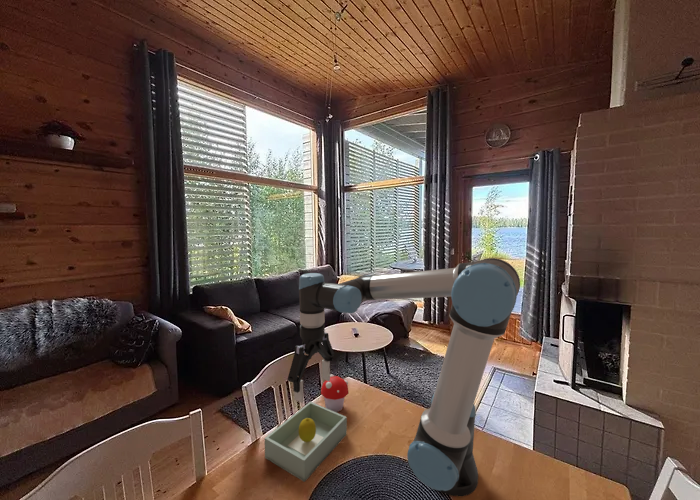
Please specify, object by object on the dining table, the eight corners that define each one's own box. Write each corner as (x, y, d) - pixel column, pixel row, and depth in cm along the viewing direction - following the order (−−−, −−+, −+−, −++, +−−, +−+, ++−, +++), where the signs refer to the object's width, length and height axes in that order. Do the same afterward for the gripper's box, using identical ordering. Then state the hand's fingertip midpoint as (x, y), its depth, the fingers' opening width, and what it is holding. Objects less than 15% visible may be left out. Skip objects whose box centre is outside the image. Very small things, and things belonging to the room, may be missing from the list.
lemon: (313, 449, 94) (313, 425, 94) (296, 446, 95) (295, 423, 94) (318, 436, 100) (318, 414, 99) (302, 434, 101) (301, 411, 100)
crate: (346, 434, 102) (346, 416, 102) (304, 482, 84) (304, 460, 84) (310, 418, 111) (310, 401, 110) (264, 457, 92) (264, 438, 92)
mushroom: (337, 395, 125) (337, 367, 123) (354, 408, 116) (355, 378, 115) (315, 405, 118) (315, 376, 117) (332, 420, 110) (332, 388, 108)
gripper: (326, 311, 106) (326, 369, 108) (273, 335, 84) (275, 406, 87) (344, 314, 102) (344, 375, 104) (294, 340, 81) (295, 415, 83)
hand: (313, 389), depth 95 cm, fingers open, 13 cm apart
